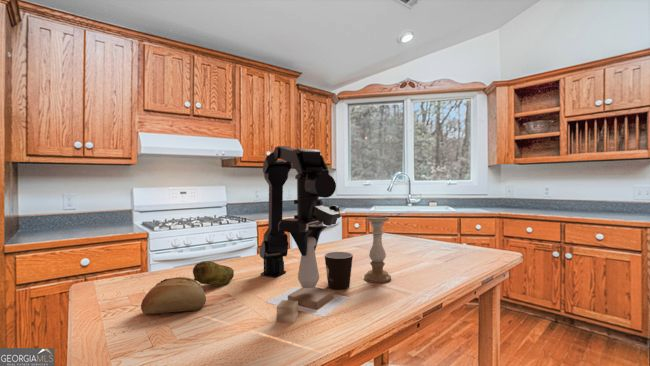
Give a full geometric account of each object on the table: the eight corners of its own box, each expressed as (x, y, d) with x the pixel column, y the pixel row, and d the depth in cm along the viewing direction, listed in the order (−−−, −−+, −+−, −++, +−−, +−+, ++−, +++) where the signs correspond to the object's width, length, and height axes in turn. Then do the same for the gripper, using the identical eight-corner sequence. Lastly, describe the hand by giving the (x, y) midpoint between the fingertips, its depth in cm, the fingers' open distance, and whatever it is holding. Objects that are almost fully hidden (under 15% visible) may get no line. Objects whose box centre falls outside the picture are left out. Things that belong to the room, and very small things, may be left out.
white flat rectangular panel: (265, 303, 83) (265, 302, 83) (295, 287, 95) (295, 286, 95) (324, 318, 74) (324, 316, 74) (349, 298, 87) (349, 296, 87)
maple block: (276, 324, 72) (276, 306, 72) (282, 316, 76) (281, 300, 76) (293, 325, 71) (293, 307, 71) (298, 317, 75) (297, 301, 75)
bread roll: (145, 307, 82) (144, 277, 82) (206, 299, 87) (206, 271, 87) (137, 323, 73) (136, 289, 73) (205, 313, 78) (205, 281, 78)
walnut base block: (287, 303, 83) (287, 295, 83) (306, 292, 91) (306, 285, 91) (316, 309, 78) (316, 301, 78) (333, 297, 86) (333, 290, 86)
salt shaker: (298, 282, 87) (297, 235, 87) (318, 281, 87) (318, 235, 87) (297, 289, 81) (297, 239, 81) (319, 289, 81) (319, 239, 81)
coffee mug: (351, 293, 90) (351, 259, 90) (322, 291, 92) (321, 257, 92) (355, 280, 102) (355, 250, 102) (329, 279, 104) (329, 249, 103)
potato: (238, 285, 98) (238, 259, 98) (194, 293, 92) (194, 265, 92) (232, 278, 105) (231, 254, 105) (190, 284, 99) (190, 259, 99)
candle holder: (382, 273, 109) (382, 215, 109) (396, 281, 101) (396, 218, 100) (359, 276, 106) (359, 216, 106) (371, 284, 98) (371, 219, 98)
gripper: (315, 198, 72) (315, 266, 72) (350, 195, 88) (350, 250, 88) (276, 197, 77) (277, 260, 78) (316, 194, 94) (316, 246, 94)
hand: (308, 254), depth 84 cm, fingers closed on salt shaker, 4 cm apart
